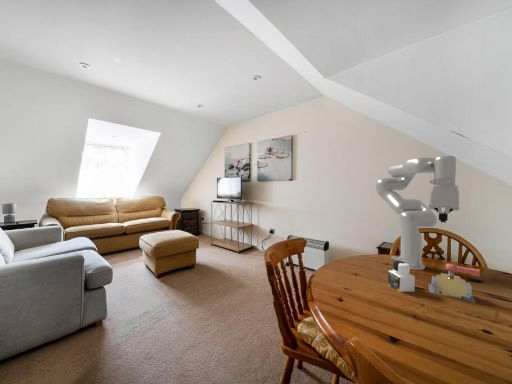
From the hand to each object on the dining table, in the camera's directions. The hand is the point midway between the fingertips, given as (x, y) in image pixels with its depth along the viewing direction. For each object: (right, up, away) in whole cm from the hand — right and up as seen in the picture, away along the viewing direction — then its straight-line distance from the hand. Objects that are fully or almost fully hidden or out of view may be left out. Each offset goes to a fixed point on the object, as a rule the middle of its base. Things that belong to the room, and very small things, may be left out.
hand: (442, 221), depth 99 cm
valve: (-5, -29, -10) cm, 31 cm away
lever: (-3, -19, -12) cm, 23 cm away
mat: (-5, -29, -9) cm, 31 cm away
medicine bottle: (-23, -30, -4) cm, 37 cm away
